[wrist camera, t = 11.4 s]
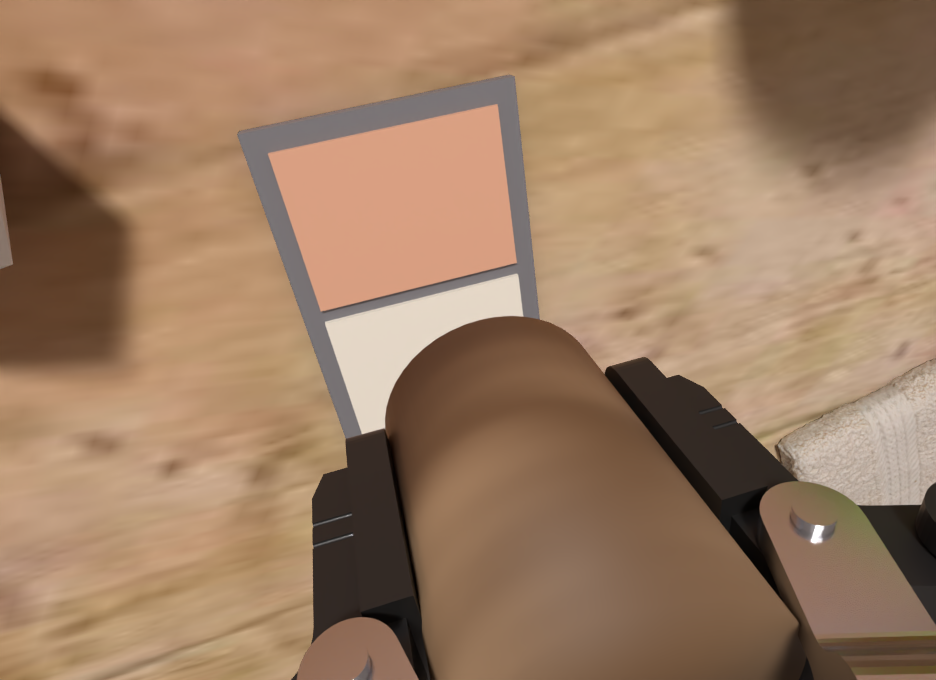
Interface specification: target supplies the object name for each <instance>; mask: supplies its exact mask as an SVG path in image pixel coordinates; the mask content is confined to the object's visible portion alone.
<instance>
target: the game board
mask: <svg viewBox="0 0 936 680" xmlns="http://www.w3.org/2000/svg"><path fill="white" fill-rule="evenodd" d="M237 136H238V138H239V141H240V144H241V147H242V150H243V152H244V155H245V158H246V161H247V164H248V166H249V169H250V172H251V175H252V178H253V180H254V183H255V186H256V189H257V192H258V194H259V197H260V200H261V203H262V205H263V208H264V211H265V214H266V217H267V219H268V222H269V225H270V228H271V231H272V233H273V236H274V239H275V242H276V245H277V247H278V250H279V253H280V256H281V259H282V261H283V264H284V267H285V270H286V273H287V275H288V278H289V281H290V284H291V287H292V289H293V292H294V295H295V298H296V301H297V303H298V306H299V309H300V312H301V315H302V317H303V320H304V323H305V326H306V329H307V331H308V334H309V337H310V340H311V342H312V345H313V348H314V351H315V354H316V356H317V359H318V362H319V365H320V368H321V370H322V373H323V376H324V379H325V382H326V384H327V387H328V390H329V393H330V396H331V398H332V401H333V404H334V407H335V410H336V412H337V415H338V418H339V421H340V424H341V426H342V429H343V432H344V435H345V438H346V439H347V438H350V437H354V436H357V435H361V434H365V433H368V432H372V431H375V430H379V429H383V428H385V415H386V407H387V403H388V400H389V397H390V394H391V391H392V389H393V387H394V385H395V383H396V381H397V379H398V378H399V376H400V375H401V373H402V371H403V370H404V369H405V368H406V366H407V365H408V364H409V363H410V362H411V360H412V359H413V358H414V357H415V356H416V355H417V354H418V353H419V352H421V351H422V350H423V349H424V348H425V347H426V346H428V345H429V344H430V343H432V342H433V341H434V340H436V339H437V338H439V337H441V336H442V335H444V334H446V333H448V332H449V331H451V330H454V329H456V328H458V327H460V326H463V325H465V324H468V323H472V322H475V321H478V320H482V319H487V318H492V317H502V316H522V317H529V318H535V319H540V318H539V308H538V299H537V289H536V279H535V270H534V260H533V250H532V241H531V231H530V221H529V212H528V202H527V192H526V183H525V173H524V163H523V154H522V144H521V134H520V125H519V115H518V105H517V95H516V86H515V76H512V75H506V76H501V77H496V78H491V79H486V80H482V81H477V82H472V83H467V84H463V85H458V86H453V87H448V88H443V89H439V90H434V91H429V92H424V93H420V94H415V95H410V96H405V97H400V98H396V99H391V100H386V101H381V102H376V103H372V104H367V105H362V106H357V107H353V108H348V109H343V110H338V111H333V112H329V113H324V114H319V115H314V116H310V117H305V118H300V119H295V120H290V121H286V122H281V123H276V124H271V125H267V126H262V127H257V128H252V129H247V130H243V131H239V132H238V134H237Z"/></svg>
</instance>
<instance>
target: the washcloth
mask: <svg viewBox="0 0 936 680" xmlns="http://www.w3.org/2000/svg"><path fill="white" fill-rule="evenodd" d="M778 448H779V449H780V455H781V461H782V462H783V463H782V465H783V466H784V467H785V468H786V469H787V470H788V471H789V472H790V473H791V474H792V475H793V476H794V477H795V478H796V479H797V480H798V481H803V482H812V483H816V484H820V485H823V486H826V487H829V488H831V489H834V490H836V491H838V492H840V493H841V494H843V495H845V496H846V497H848V498H849V499H850V500H852V501H853V502H854V503H855V504H856V505H921V504H922V501H923V499H924V496H925V494H926V491H927V489H928V488H929V487H930V486H931V485H932V484H934V483H936V359H933V360H931V361H926V362H925V363H924V364H922V365H920V366H918V367H916V368H913V369H911V370H910V371H909V372H906V373H904V374H903V375H902V376H899V377H896V378H895V379H893V380H892V381H890V382H889V383H888V384H887V385H886V386H885V387H882V388H881V389H879V390H877V391H875V392H872V393H870V394H868V395H867V396H866V397H862V398H860V399H858V400H857V401H856V402H854V403H851V404H843V405H842V406H841V407H839V408H837V409H834V410H833V411H832V412H830V413H828V414H825V415H823V416H822V418H819V419H816V420H815V421H812V422H810V423H809V424H806V425H805V426H804V427H803V428H799V429H796V430H795V431H793V432H792V433H790V434H788V435H787V436H785V437H784V438H783V439H782V440H781V441H780V442H779V444H778Z"/></svg>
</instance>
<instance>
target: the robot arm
mask: <svg viewBox="0 0 936 680" xmlns="http://www.w3.org/2000/svg"><path fill="white" fill-rule="evenodd" d="M605 376H606V377H607V378H608V380H609V381H610V382H611V383H612V385H613V386H614V387H615V389H616V390H617V391H618V392H619V394H620V395H621V396H622V397H623V399H624V400H625V401H626V403H627V404H628V405H629V406H630V408H631V409H632V410H633V412H634V413H635V414H636V415H637V417H638V418H639V419H640V420H641V422H642V423H643V424H644V426H645V427H646V428H647V429H648V431H649V432H650V433H651V434H652V436H653V437H654V438H655V440H656V441H657V442H658V443H659V445H660V446H661V447H662V449H663V450H664V451H665V452H666V454H667V455H668V456H669V457H670V459H671V460H672V461H673V463H674V464H675V465H676V466H677V468H678V469H679V470H680V471H681V473H682V474H683V475H684V477H685V478H686V479H687V480H688V482H689V483H690V484H691V486H692V487H693V488H694V489H695V491H696V492H697V493H698V494H699V496H700V497H701V498H702V500H703V501H704V502H705V503H706V505H707V506H708V507H709V508H710V510H711V511H712V512H713V514H714V515H715V516H716V517H717V519H718V520H719V521H720V523H721V524H722V525H723V526H724V528H725V529H726V530H727V531H728V533H729V534H730V535H731V537H732V538H733V539H734V540H735V542H736V543H737V544H738V545H739V547H740V548H741V549H742V551H743V552H744V553H745V554H746V556H747V557H748V558H749V560H750V561H751V562H752V563H753V565H754V566H755V567H756V568H757V570H758V571H759V572H760V574H761V575H762V576H763V577H764V579H765V580H766V581H767V583H768V584H769V585H770V586H771V588H772V589H773V590H774V591H775V593H776V594H777V595H778V597H779V598H780V599H781V600H782V602H783V603H784V604H785V605H786V607H787V608H788V609H789V611H790V612H791V613H792V614H793V616H794V617H795V618H796V620H797V621H798V622H799V624H800V627H799V631H798V637H799V640H800V642H801V644H802V647H803V649H804V651H805V654H806V661H805V666H804V668H803V671H802V673H801V676H800V678H799V680H936V483H934V484H932V485H931V486H930V487H929V488H928V489H927V491H926V494H925V496H924V499H923V501H922V504H921V505H856V504H855V503H854V502H853V501H852V500H850V499H849V498H848V497H846V496H845V495H843V494H841V493H840V492H838V491H836V490H834V489H831V488H829V487H826V486H823V485H820V484H816V483H812V482H803V481H798V480H797V479H796V478H795V477H794V476H793V475H792V474H791V473H790V472H789V471H788V470H787V469H786V468H785V467H784V466H783V465H782V464H781V463H780V462H779V461H778V460H777V459H776V458H775V457H774V456H773V455H772V454H771V453H770V452H769V451H768V450H767V449H766V448H765V447H764V446H763V445H762V444H761V443H760V442H759V441H758V440H757V439H756V438H755V437H754V436H753V435H752V434H751V433H749V432H748V431H747V430H746V429H745V428H744V427H743V426H742V425H741V424H740V423H739V424H738V423H737V421H736V419H735V418H734V417H733V416H732V415H731V414H730V413H729V412H728V411H727V410H726V409H725V408H724V409H723V408H722V405H721V404H720V403H719V402H718V401H717V400H716V399H715V398H714V397H713V396H712V395H711V394H710V393H709V392H708V391H707V390H706V389H705V388H704V387H702V386H700V385H698V384H696V383H694V382H692V381H690V380H688V379H686V378H684V377H682V376H680V375H676V376H672V377H669V378H666V377H665V376H664V375H663V374H662V373H661V371H660V370H659V369H658V368H657V367H656V366H655V365H654V364H653V363H652V362H651V361H650V360H649V359H648V358H646V357H642V358H638V359H634V360H631V361H627V362H624V363H620V364H616V365H613V366H609V367H607V368H606V371H605ZM346 455H347V466H348V468H344V469H341V470H337V471H334V472H330V473H327V474H323V477H322V479H321V481H320V483H319V485H318V487H317V489H316V492H315V494H314V496H313V498H312V523H313V547H314V549H313V610H314V630H313V639H312V643H311V646H310V647H309V649H308V650H307V652H306V653H305V655H304V657H303V659H302V661H301V664H300V667H299V670H298V672H297V673H296V675H295V676H294V677H293V678H292V679H291V680H430V675H429V669H428V664H427V658H426V653H425V647H424V642H423V636H422V618H421V613H420V607H419V602H418V596H417V591H416V586H415V580H414V575H413V569H412V564H411V558H410V553H409V548H408V542H407V537H406V531H405V526H404V521H403V515H402V510H401V504H400V499H399V494H398V488H397V483H396V477H395V472H394V467H393V461H392V456H391V450H390V445H389V440H388V436H387V433H386V431H385V428H383V429H379V430H375V431H372V432H368V433H365V434H361V435H357V436H354V437H350V438H347V439H346Z"/></svg>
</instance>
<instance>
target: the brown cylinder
mask: <svg viewBox="0 0 936 680" xmlns="http://www.w3.org/2000/svg"><path fill="white" fill-rule="evenodd" d="M385 431H386V433H387V436H388V440H389V445H390V450H391V456H392V461H393V467H394V472H395V477H396V483H397V488H398V494H399V499H400V504H401V510H402V515H403V521H404V526H405V531H406V537H407V542H408V548H409V553H410V558H411V564H412V569H413V575H414V580H415V586H416V591H417V596H418V602H419V607H420V613H421V618H422V636H423V642H424V647H425V653H426V658H427V664H428V669H429V675H430V680H799V678H800V676H801V673H802V671H803V668H804V666H805V661H806V654H805V651H804V649H803V647H802V644H801V642H800V640H799V637H798V631H799V627H800V624H799V622H798V621H797V620H796V618H795V617H794V616H793V614H792V613H791V612H790V611H789V609H788V608H787V607H786V605H785V604H784V603H783V602H782V600H781V599H780V598H779V597H778V595H777V594H776V593H775V591H774V590H773V589H772V588H771V586H770V585H769V584H768V583H767V581H766V580H765V579H764V577H763V576H762V575H761V574H760V572H759V571H758V570H757V568H756V567H755V566H754V565H753V563H752V562H751V561H750V560H749V558H748V557H747V556H746V554H745V553H744V552H743V551H742V549H741V548H740V547H739V545H738V544H737V543H736V542H735V540H734V539H733V538H732V537H731V535H730V534H729V533H728V531H727V530H726V529H725V528H724V526H723V525H722V524H721V523H720V521H719V520H718V519H717V517H716V516H715V515H714V514H713V512H712V511H711V510H710V508H709V507H708V506H707V505H706V503H705V502H704V501H703V500H702V498H701V497H700V496H699V494H698V493H697V492H696V491H695V489H694V488H693V487H692V486H691V484H690V483H689V482H688V480H687V479H686V478H685V477H684V475H683V474H682V473H681V471H680V470H679V469H678V468H677V466H676V465H675V464H674V463H673V461H672V460H671V459H670V457H669V456H668V455H667V454H666V452H665V451H664V450H663V449H662V447H661V446H660V445H659V443H658V442H657V441H656V440H655V438H654V437H653V436H652V434H651V433H650V432H649V431H648V429H647V428H646V427H645V426H644V424H643V423H642V422H641V420H640V419H639V418H638V417H637V415H636V414H635V413H634V412H633V410H632V409H631V408H630V406H629V405H628V404H627V403H626V401H625V400H624V399H623V397H622V396H621V395H620V394H619V392H618V391H617V390H616V389H615V387H614V386H613V385H612V383H611V382H610V381H609V380H608V378H607V377H606V376H605V374H604V373H603V372H602V371H601V369H600V368H599V367H598V366H597V364H596V363H595V362H594V360H593V359H592V358H591V357H590V355H589V354H588V353H587V352H586V350H585V349H584V348H583V346H582V345H581V344H580V343H579V342H578V341H577V340H576V339H575V338H574V337H573V336H572V335H570V334H569V333H568V332H566V331H565V330H563V329H562V328H560V327H558V326H556V325H554V324H552V323H549V322H546V321H543V320H540V319H535V318H529V317H522V316H502V317H492V318H487V319H482V320H478V321H475V322H472V323H468V324H465V325H463V326H460V327H458V328H456V329H454V330H451V331H449V332H448V333H446V334H444V335H442V336H441V337H439V338H437V339H436V340H434V341H433V342H432V343H430V344H429V345H428V346H426V347H425V348H424V349H423V350H422V351H421V352H419V353H418V354H417V355H416V356H415V357H414V358H413V359H412V360H411V362H410V363H409V364H408V365H407V366H406V368H405V369H404V370H403V371H402V373H401V375H400V376H399V378H398V379H397V381H396V383H395V385H394V387H393V389H392V391H391V394H390V397H389V400H388V403H387V407H386V415H385Z"/></svg>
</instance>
